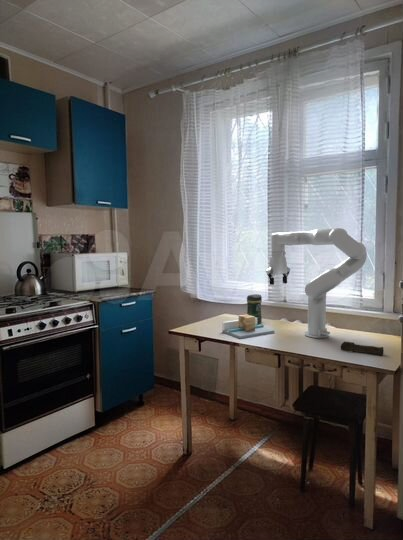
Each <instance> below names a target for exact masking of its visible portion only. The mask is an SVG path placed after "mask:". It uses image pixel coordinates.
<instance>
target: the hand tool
mask: <svg viewBox="0 0 403 540" xmlns="http://www.w3.org/2000/svg"><path fill="white" fill-rule="evenodd" d="M340 350H342V351H346V352H350V353H354V352H356V353H357V352H358V353H365V354H372V355H379V356H381V357H382V356H384V353H385V352H384V347H383V346H381V347H380V346H373V345H363V344H357V343H355V342H351V341H346V340H345V341H343V342H342V343H341V344H340Z"/></svg>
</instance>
